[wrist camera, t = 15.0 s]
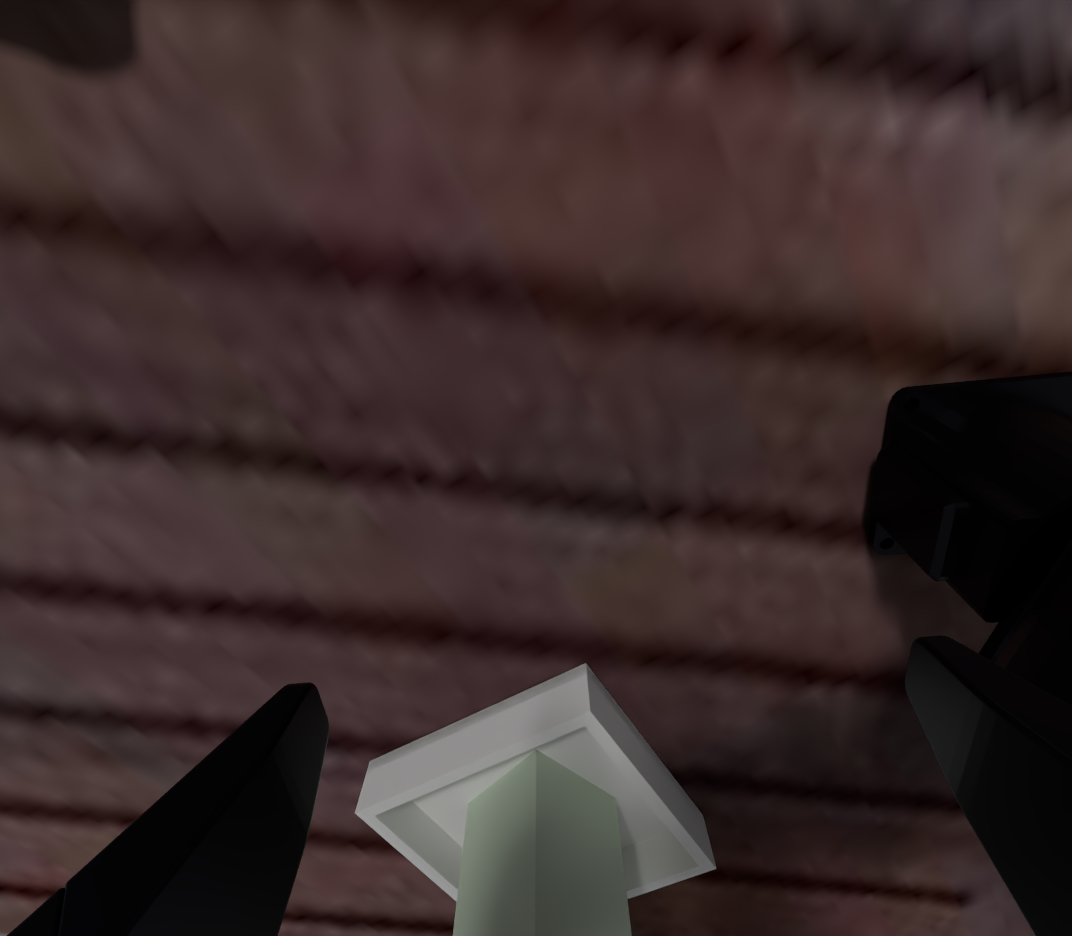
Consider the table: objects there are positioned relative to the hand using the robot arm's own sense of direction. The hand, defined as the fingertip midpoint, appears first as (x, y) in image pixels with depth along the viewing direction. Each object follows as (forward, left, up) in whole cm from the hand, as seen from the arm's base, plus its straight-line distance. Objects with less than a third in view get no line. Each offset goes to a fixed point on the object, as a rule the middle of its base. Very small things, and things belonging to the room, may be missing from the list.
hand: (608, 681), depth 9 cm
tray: (+3, +20, -13) cm, 24 cm away
